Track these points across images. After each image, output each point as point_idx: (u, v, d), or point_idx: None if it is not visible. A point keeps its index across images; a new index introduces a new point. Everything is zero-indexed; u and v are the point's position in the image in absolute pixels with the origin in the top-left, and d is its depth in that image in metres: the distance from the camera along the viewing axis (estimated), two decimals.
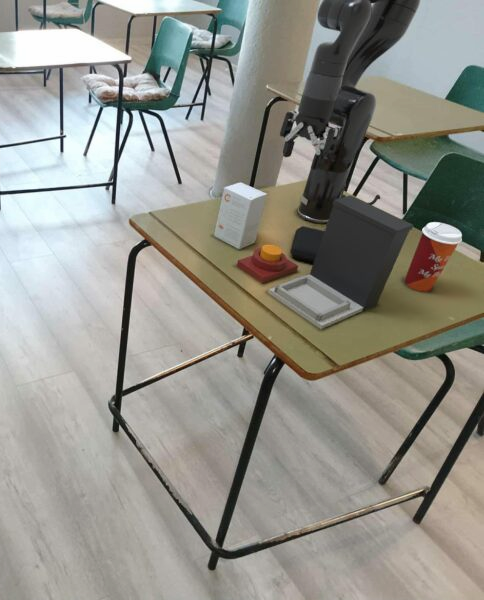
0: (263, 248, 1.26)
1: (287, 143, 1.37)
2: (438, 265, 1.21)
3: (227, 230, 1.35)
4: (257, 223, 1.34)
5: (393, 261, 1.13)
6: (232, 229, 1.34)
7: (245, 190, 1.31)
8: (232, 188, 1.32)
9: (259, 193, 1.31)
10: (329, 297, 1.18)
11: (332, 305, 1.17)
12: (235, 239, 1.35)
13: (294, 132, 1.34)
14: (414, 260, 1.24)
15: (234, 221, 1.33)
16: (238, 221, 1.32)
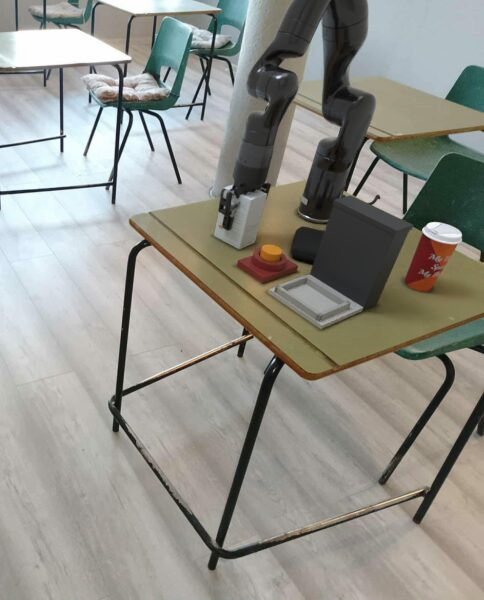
0: (263, 248, 1.26)
1: None
2: (438, 265, 1.21)
3: None
4: (257, 223, 1.34)
5: (393, 261, 1.13)
6: (232, 229, 1.34)
7: None
8: None
9: (259, 193, 1.31)
10: (329, 297, 1.18)
11: (332, 305, 1.17)
12: (235, 239, 1.35)
13: None
14: (414, 260, 1.24)
15: (234, 221, 1.33)
16: (238, 221, 1.32)
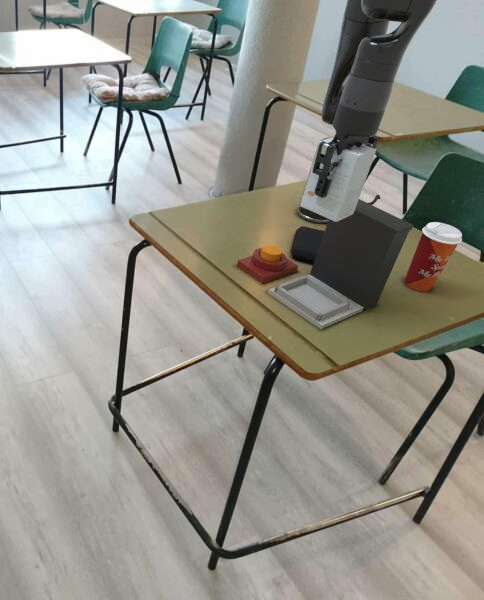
0: (263, 248, 1.26)
1: None
2: (438, 265, 1.21)
3: (320, 197, 1.06)
4: (360, 188, 1.05)
5: (393, 261, 1.13)
6: (328, 196, 1.05)
7: None
8: None
9: (366, 148, 1.01)
10: (329, 297, 1.18)
11: (332, 305, 1.17)
12: (331, 209, 1.05)
13: None
14: (414, 260, 1.24)
15: (332, 185, 1.03)
16: (337, 185, 1.03)
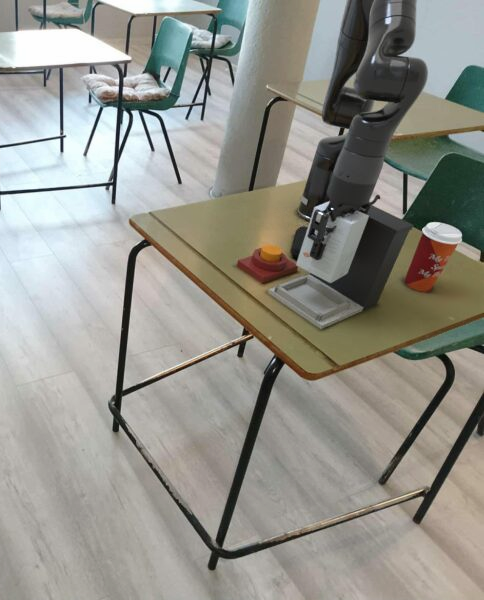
0: (263, 248, 1.26)
1: None
2: (438, 265, 1.21)
3: None
4: (354, 251, 1.09)
5: (393, 261, 1.13)
6: (322, 258, 1.09)
7: None
8: (324, 208, 1.07)
9: (359, 215, 1.05)
10: (329, 297, 1.18)
11: (332, 305, 1.17)
12: (325, 271, 1.09)
13: None
14: (414, 260, 1.24)
15: (326, 248, 1.08)
16: (331, 249, 1.07)
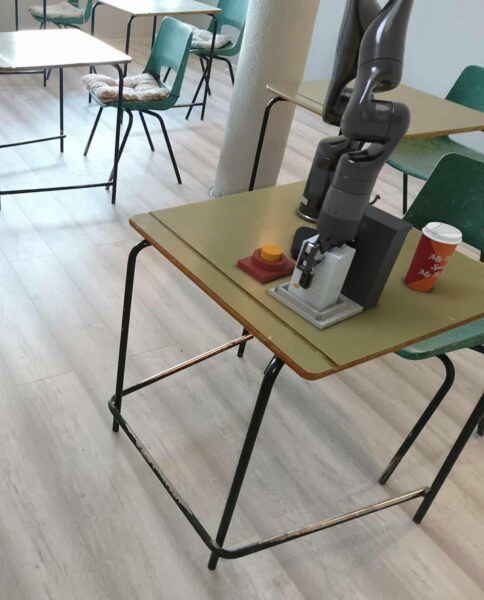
0: (263, 248, 1.26)
1: None
2: (438, 265, 1.21)
3: (305, 290, 1.14)
4: (341, 283, 1.13)
5: (393, 261, 1.13)
6: (311, 290, 1.13)
7: None
8: (313, 242, 1.11)
9: (346, 249, 1.09)
10: None
11: (332, 305, 1.17)
12: (314, 302, 1.13)
13: None
14: (414, 260, 1.24)
15: (315, 281, 1.12)
16: (320, 281, 1.11)
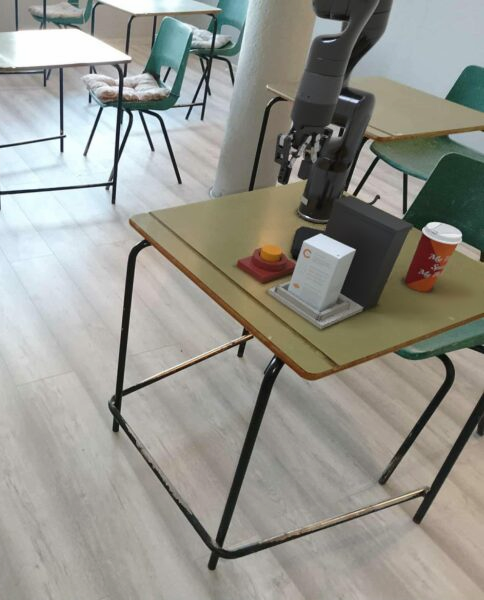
0: (263, 248, 1.26)
1: None
2: (438, 265, 1.21)
3: (305, 290, 1.14)
4: (341, 283, 1.13)
5: (393, 261, 1.13)
6: (311, 290, 1.13)
7: (329, 245, 1.10)
8: (313, 242, 1.11)
9: (346, 249, 1.09)
10: None
11: (332, 305, 1.17)
12: (314, 302, 1.13)
13: None
14: (414, 260, 1.24)
15: (315, 281, 1.12)
16: (320, 281, 1.11)
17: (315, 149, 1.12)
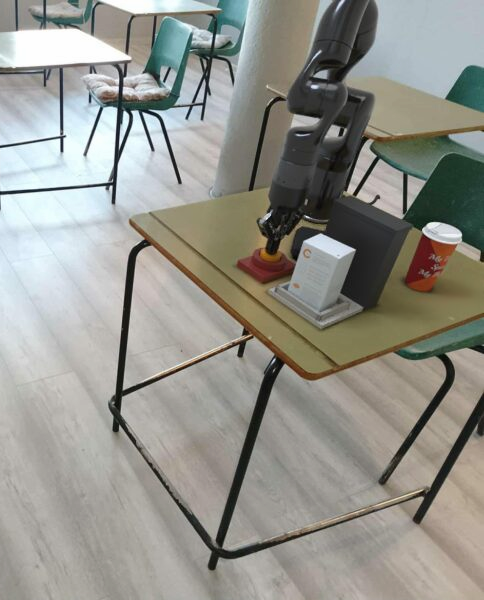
0: (262, 251, 1.26)
1: None
2: (438, 265, 1.21)
3: (305, 290, 1.14)
4: (341, 283, 1.13)
5: (393, 261, 1.13)
6: (311, 290, 1.13)
7: (329, 245, 1.10)
8: (313, 242, 1.11)
9: (346, 249, 1.09)
10: None
11: (332, 305, 1.17)
12: (314, 302, 1.13)
13: None
14: (414, 260, 1.24)
15: (315, 281, 1.12)
16: (320, 281, 1.11)
17: (287, 226, 1.21)
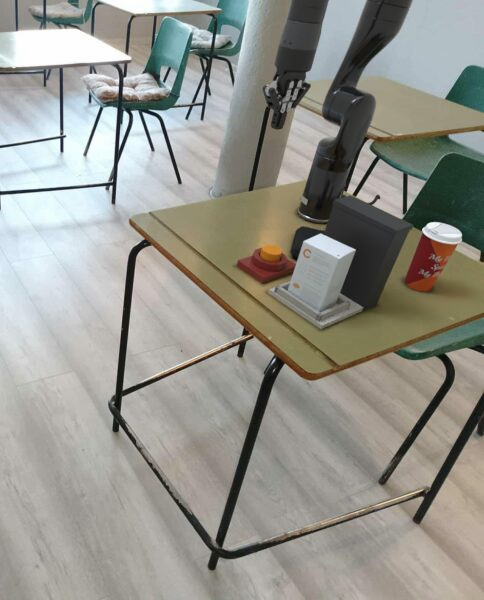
0: (263, 248, 1.26)
1: None
2: (438, 265, 1.21)
3: (305, 290, 1.14)
4: (341, 283, 1.13)
5: (393, 261, 1.13)
6: (311, 290, 1.13)
7: (329, 245, 1.10)
8: (313, 242, 1.11)
9: (346, 249, 1.09)
10: None
11: (332, 305, 1.17)
12: (314, 302, 1.13)
13: None
14: (414, 260, 1.24)
15: (315, 281, 1.12)
16: (320, 281, 1.11)
17: (293, 96, 1.21)
